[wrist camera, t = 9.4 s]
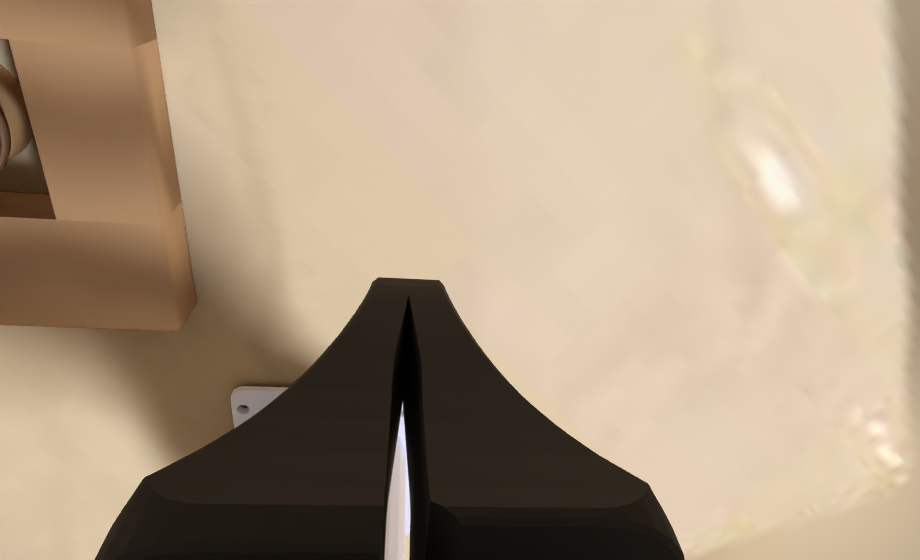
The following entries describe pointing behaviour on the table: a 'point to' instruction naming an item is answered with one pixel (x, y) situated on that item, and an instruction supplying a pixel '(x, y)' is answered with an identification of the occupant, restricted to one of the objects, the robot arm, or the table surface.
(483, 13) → the table surface
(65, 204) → the board
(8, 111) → the peg
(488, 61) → the table surface
